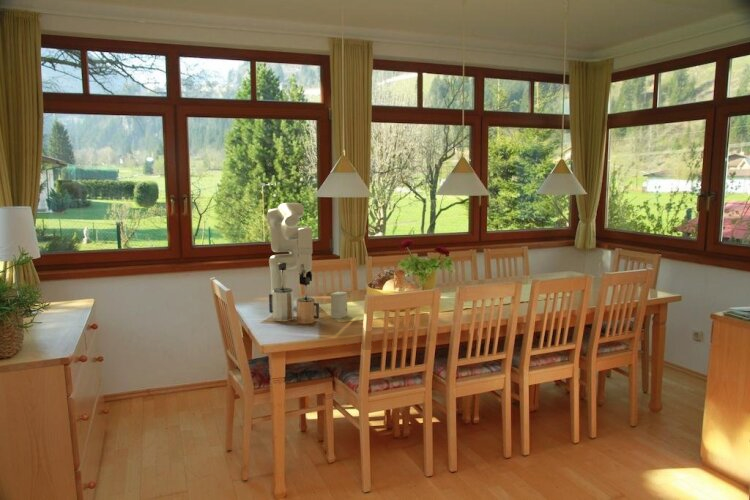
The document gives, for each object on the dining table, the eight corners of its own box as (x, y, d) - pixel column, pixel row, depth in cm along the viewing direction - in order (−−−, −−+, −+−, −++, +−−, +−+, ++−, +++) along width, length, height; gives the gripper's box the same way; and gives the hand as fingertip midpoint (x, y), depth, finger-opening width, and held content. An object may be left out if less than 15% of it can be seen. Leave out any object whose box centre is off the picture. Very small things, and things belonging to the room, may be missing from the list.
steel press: (274, 315, 319) (273, 286, 317) (296, 317, 316) (295, 288, 314) (265, 320, 308) (265, 290, 306) (288, 322, 305) (288, 292, 303)
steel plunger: (279, 294, 315) (278, 261, 312) (292, 295, 313) (291, 262, 310) (273, 297, 307) (272, 263, 305) (286, 298, 306) (286, 264, 303)
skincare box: (339, 321, 313) (339, 294, 311) (330, 319, 316) (330, 293, 314) (347, 317, 321) (347, 291, 319) (338, 316, 324) (338, 290, 321)
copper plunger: (302, 303, 309) (302, 276, 307) (313, 304, 308) (313, 276, 306) (298, 306, 303) (297, 278, 301) (309, 307, 302) (309, 279, 300)
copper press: (300, 319, 313) (300, 296, 311) (321, 320, 310) (321, 297, 308) (294, 323, 303) (294, 300, 302) (315, 325, 301) (315, 301, 299)
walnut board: (273, 316, 322) (273, 314, 322) (324, 320, 315) (324, 318, 315) (260, 325, 305) (260, 322, 304) (313, 328, 298) (313, 326, 298)
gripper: (304, 248, 311) (304, 279, 313) (292, 252, 294) (293, 285, 296) (317, 248, 309) (317, 279, 311) (306, 253, 292) (306, 285, 295)
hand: (305, 282), depth 304 cm, fingers open, 9 cm apart
